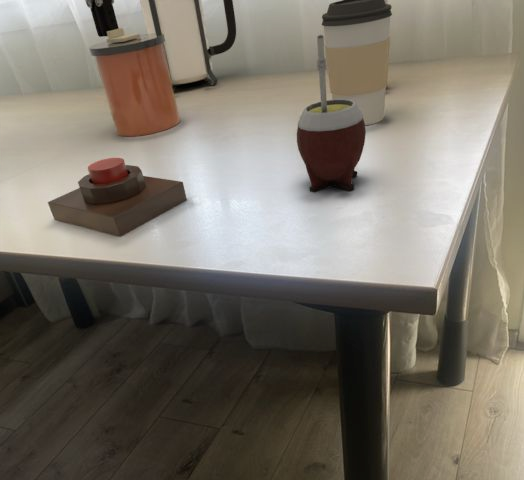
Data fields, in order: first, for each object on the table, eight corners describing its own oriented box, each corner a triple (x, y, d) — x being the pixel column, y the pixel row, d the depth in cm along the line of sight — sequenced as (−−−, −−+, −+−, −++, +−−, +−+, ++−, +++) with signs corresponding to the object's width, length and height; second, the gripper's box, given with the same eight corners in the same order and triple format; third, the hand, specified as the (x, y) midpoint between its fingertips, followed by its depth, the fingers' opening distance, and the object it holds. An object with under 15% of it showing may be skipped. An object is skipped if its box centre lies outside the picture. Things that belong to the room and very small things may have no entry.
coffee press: (197, 94, 107) (160, -98, 89) (140, 95, 115) (95, -82, 97) (244, 74, 118) (220, -101, 100) (189, 76, 126) (157, -86, 108)
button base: (54, 220, 61) (41, 186, 59) (120, 188, 67) (110, 156, 65) (120, 237, 55) (108, 200, 52) (187, 200, 60) (179, 165, 58)
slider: (107, 42, 84) (104, 32, 83) (124, 38, 86) (121, 27, 85) (123, 41, 82) (120, 30, 81) (140, 37, 84) (137, 26, 83)
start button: (85, 184, 59) (80, 168, 57) (113, 171, 61) (108, 156, 60) (107, 188, 56) (102, 171, 55) (136, 175, 59) (131, 159, 58)
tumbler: (99, 135, 91) (73, 49, 83) (150, 115, 98) (130, 34, 90) (146, 139, 85) (121, 47, 77) (196, 117, 92) (179, 31, 84)
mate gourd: (338, 167, 62) (330, 18, 53) (385, 182, 56) (385, 18, 47) (286, 187, 59) (268, 33, 50) (330, 205, 54) (319, 35, 45)
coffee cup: (391, 125, 72) (392, -6, 63) (325, 132, 74) (317, 5, 65) (390, 108, 79) (391, -12, 70) (330, 114, 81) (323, -2, 72)
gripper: (16, -104, 76) (63, 41, 87) (78, -126, 68) (121, 37, 79) (59, -106, 81) (98, 32, 92) (122, -127, 72) (157, 27, 83)
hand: (109, 34), depth 85 cm, fingers closed
